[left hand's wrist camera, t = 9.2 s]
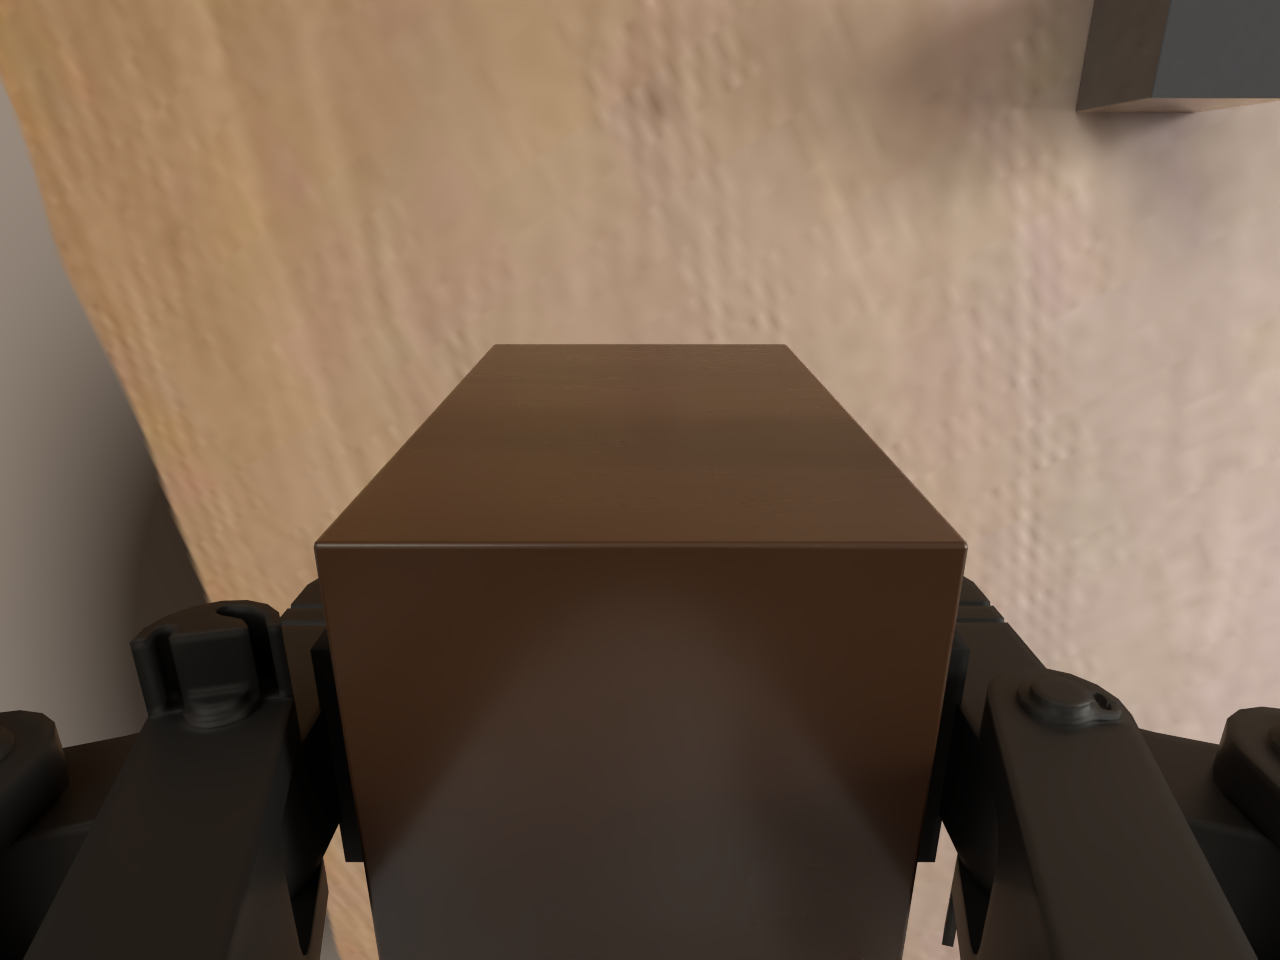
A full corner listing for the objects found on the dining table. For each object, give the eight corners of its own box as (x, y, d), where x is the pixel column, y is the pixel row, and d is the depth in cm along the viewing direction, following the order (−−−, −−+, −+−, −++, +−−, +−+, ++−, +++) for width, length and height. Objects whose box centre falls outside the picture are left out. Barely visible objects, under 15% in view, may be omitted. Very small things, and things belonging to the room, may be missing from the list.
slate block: (1099, -34, 24) (1185, -75, 20) (1231, -34, 24) (1341, -75, 20) (1074, 112, 25) (1150, 98, 22) (1199, 111, 25) (1297, 98, 22)
